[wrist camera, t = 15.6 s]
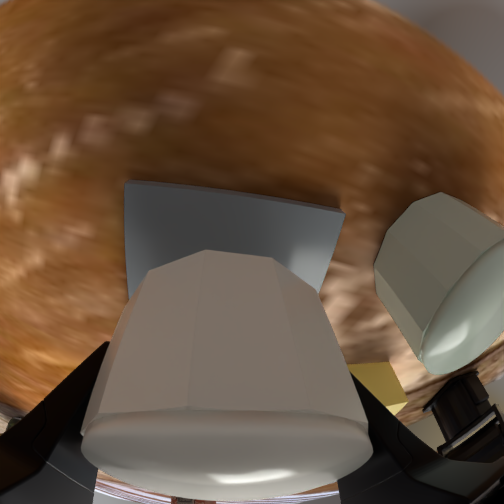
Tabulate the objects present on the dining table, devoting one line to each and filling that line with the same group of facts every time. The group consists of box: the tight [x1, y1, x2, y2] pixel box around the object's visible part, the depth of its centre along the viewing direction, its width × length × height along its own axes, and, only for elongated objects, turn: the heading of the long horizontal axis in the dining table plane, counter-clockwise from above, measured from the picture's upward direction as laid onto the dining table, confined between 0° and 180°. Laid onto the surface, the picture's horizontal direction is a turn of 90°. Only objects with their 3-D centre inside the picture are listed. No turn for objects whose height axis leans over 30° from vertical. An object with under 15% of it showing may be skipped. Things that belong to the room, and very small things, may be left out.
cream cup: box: [80, 249, 373, 501], centre depth 7 cm, size 7×7×6 cm
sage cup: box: [374, 192, 504, 375], centre depth 11 cm, size 7×7×6 cm
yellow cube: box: [347, 362, 409, 415], centre depth 17 cm, size 4×4×4 cm
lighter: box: [171, 496, 216, 504], centre depth 25 cm, size 8×3×10 cm, turn 122°
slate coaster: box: [124, 180, 346, 300], centre depth 13 cm, size 9×9×1 cm
